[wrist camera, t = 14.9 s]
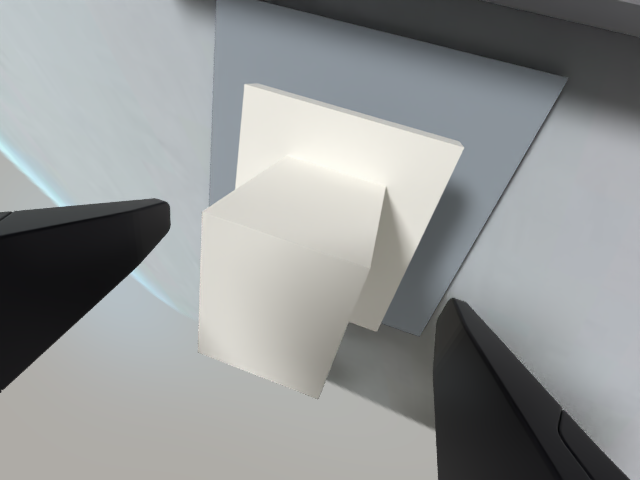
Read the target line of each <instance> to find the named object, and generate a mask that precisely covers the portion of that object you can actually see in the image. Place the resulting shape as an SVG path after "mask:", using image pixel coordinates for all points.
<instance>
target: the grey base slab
mask: <svg viewBox="0 0 640 480" xmlns="http://www.w3.org/2000/svg"><path fill="white" fill-rule="evenodd" d="M480 1H484V2H489V3H493V4H497V5H502V6H506V7H510V8H515V9H519V10H523V11H528V12H532V13H536V14H541V15H545V16H549V17H554V18H558V19H562V20H567V21H571V22H575V23H580V24H584V25H588V26H593V27H597V28H601V29H606V30H610V31H614V32H619V33H623V34H627V35H631V36H636V37H640V0H480Z"/></svg>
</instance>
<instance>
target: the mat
mask: <svg viewBox="0 0 640 480" xmlns="http://www.w3.org/2000/svg"><path fill="white" fill-rule="evenodd" d="M567 80H568V78H567V77H563V76H559V75H555V74H551V73H547V72H543V71H539V70H535V69H531V68H527V67H523V66H519V65H515V64H511V63H507V62H503V61H499V60H495V59H491V58H487V57H483V56H479V55H475V54H471V53H467V52H463V51H459V50H455V49H451V48H447V47H443V46H439V45H435V44H431V43H427V42H423V41H419V40H415V39H411V38H407V37H403V36H399V35H395V34H391V33H387V32H383V31H379V30H375V29H371V28H367V27H363V26H359V25H355V24H351V23H347V22H343V21H339V20H335V19H331V18H327V17H323V16H319V15H315V14H311V13H307V12H303V11H299V10H295V9H291V8H287V7H283V6H279V5H275V4H271V3H267V2H263V1H259V0H216V21H215V49H214V77H213V105H212V132H211V160H210V188H209V207H210V206H211V205H213V204H214V203H216V202H217V201H219V200H220V199H222V198H223V197H225V196H226V195H228V194H229V193H231V192H232V191H234V190H235V185H236V174H237V162H238V151H239V140H240V129H241V117H242V106H243V95H244V84H255V83H258V84H262V85H265V86H269V87H272V88H276V89H279V90H283V91H286V92H290V93H293V94H297V95H300V96H303V97H307V98H310V99H314V100H317V101H321V102H324V103H328V104H331V105H335V106H338V107H342V108H345V109H349V110H352V111H356V112H359V113H363V114H366V115H370V116H373V117H376V118H380V119H383V120H387V121H390V122H394V123H397V124H401V125H404V126H408V127H411V128H415V129H418V130H422V131H425V132H429V133H432V134H436V135H439V136H443V137H446V138H449V139H453V140H456V141H459V142H460V143H461V144H462V145H463V147H464V149H463V151H462V153H461V156H460V158H459V160H458V162H457V164H456V166H455V168H454V170H453V172H452V175H451V177H450V179H449V181H448V183H447V185H446V187H445V189H444V191H443V194H442V196H441V198H440V200H439V202H438V204H437V206H436V208H435V210H434V213H433V215H432V217H431V219H430V221H429V223H428V225H427V227H426V229H425V231H424V234H423V236H422V238H421V240H420V242H419V244H418V246H417V248H416V250H415V253H414V255H413V257H412V259H411V261H410V263H409V265H408V267H407V269H406V272H405V274H404V276H403V278H402V280H401V282H400V284H399V286H398V288H397V291H396V293H395V295H394V297H393V299H392V301H391V303H390V305H389V307H388V310H387V312H386V314H385V316H384V318H383V320H382V322H381V323H382V324H385V325H388V326H390V327H393V328H396V329H399V330H402V331H405V332H407V333H410V334H413V335H416V336H419V337H420V335H421V333H422V332H423V330H424V328H425V326H426V325H427V323H428V321H429V319H430V318H431V316H432V314H433V312H434V311H435V309H436V307H437V306H438V304H439V302H440V300H441V299H442V297H443V295H444V293H445V292H446V290H447V288H448V286H449V285H450V283H451V281H452V280H453V278H454V276H455V274H456V273H457V271H458V269H459V267H460V266H461V264H462V262H463V260H464V259H465V257H466V255H467V253H468V252H469V250H470V248H471V247H472V245H473V243H474V241H475V240H476V238H477V236H478V234H479V233H480V231H481V229H482V227H483V226H484V224H485V222H486V221H487V219H488V217H489V215H490V214H491V212H492V210H493V208H494V207H495V205H496V203H497V201H498V200H499V198H500V196H501V195H502V193H503V191H504V189H505V188H506V186H507V184H508V182H509V181H510V179H511V177H512V175H513V174H514V172H515V170H516V169H517V167H518V165H519V163H520V162H521V160H522V158H523V156H524V155H525V153H526V151H527V149H528V148H529V146H530V144H531V143H532V141H533V139H534V137H535V136H536V134H537V132H538V130H539V129H540V127H541V125H542V123H543V122H544V120H545V118H546V117H547V115H548V113H549V111H550V110H551V108H552V106H553V104H554V103H555V101H556V99H557V97H558V96H559V94H560V92H561V91H562V89H563V87H564V85H565V84H566V82H567Z"/></svg>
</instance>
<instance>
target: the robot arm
mask: <svg viewBox="0 0 640 480" xmlns="http://www.w3.org/2000/svg"><path fill="white" fill-rule="evenodd" d="M170 225H171V224H170V206H169V204H168V203H167V202H165V201H162V200H159V199H155V198H153V199H142V200H131V201H121V202H110V203H99V204H88V205H77V206H66V207H55V208H44V209H33V210H22V211H14V212H0V393H1V390H3V389H5V388H6V387H7V386H8V385H9V384H10V383H11V382H12V381H13V380H15V379H16V378H17V377H18V376H19V375H20V374H21V373H22V372H23V371H24V370H25V369H26V368H28V366H30V365H31V364H32V363H33V362H34V361H35V360H36V359H37V358H38V357H39V356H41V354H43V353H44V352H45V351H46V350H47V349H48V348H49V347H51V346H52V345H53V344H54V343H55V342H56V341H57V340H58V339H59V338H60V337H61V336H62V335H64V334H65V333H66V332H67V331H68V330H69V329H70V328H71V327H72V326H73V325H74V324H75V323H77V322H78V321H79V320H80V319H81V318H82V317H83V316H84V315H85V314H86V313H88V311H90V310H91V309H92V308H93V307H94V306H95V305H96V304H97V303H98V302H99V301H101V300H102V299H103V298H104V297H105V296H106V295H107V294H108V293H109V292H110V291H111V290H113V289H114V288H115V287H116V286H117V285H118V284H119V283H120V282H121V281H122V280H123V279H125V278H126V277H127V276H128V275H129V274H130V273H131V272H132V271H133V270H134V269H135V268H136V267H137V266H138V265H139V264H140V263H141V262H142V261H143V260H144V259H145V258H146V257H147V255H148V254H149V253H150V252H151V251H152V250H153V249H154V248H155V246H156V245H157V244H158V243H159V242H160V241H161V240H162V238H163V237H164V236H165V235H166V234H167V233H168V231H169V229H170ZM433 387H434V407H435V426H436V446H437V465H438V480H630V479H629V478H628V477H627V476H626V475H625V474H624V473H623V472H622V471H621V470H620V469H619V468H618V467H617V466H616V465H615V464H614V463H613V462H612V461H611V460H610V459H609V458H608V457H607V456H606V455H605V453H604V452H603V451H602V450H601V449H600V448H599V447H598V446H597V445H596V444H595V443H594V442H593V441H592V440H591V439H590V438H589V437H588V435H587V434H586V433H585V432H584V431H583V430H582V429H581V428H580V427H579V426H578V425H577V424H576V422H575V421H574V420H573V419H572V418H571V417H570V416H569V415H568V414H567V412H566V411H564V410H562V407H561V406H560V405H559V404H558V403H557V402H556V400H555V399H554V398H553V397H552V396H551V395H550V394H549V393H548V392H547V391H546V389H545V388H544V387H543V386H542V385H541V384H540V383H539V382H538V381H537V380H536V378H535V377H534V376H533V375H532V374H531V373H530V372H529V371H528V370H527V369H526V367H525V366H524V365H523V364H522V363H521V362H520V361H519V360H518V359H517V358H516V356H515V355H514V354H513V353H512V352H511V351H510V350H509V349H508V348H507V347H506V345H505V344H504V343H503V342H502V341H501V340H500V339H499V338H498V337H497V336H496V334H495V333H494V332H493V331H492V330H491V329H490V328H489V327H488V326H487V325H486V323H485V322H484V321H483V320H482V319H481V318H480V317H479V316H478V315H477V314H476V312H475V311H474V310H473V309H472V308H471V307H470V306H469V305H468V304H467V303H466V302H464V301H461V300H458V299H455V298H451V299H450V300H449V301H448V302H447V304H446V306H445V307H444V309H443V311H442V312H441V314H440V316H439V318H438V320H437V324H436V334H435V348H434V362H433Z"/></svg>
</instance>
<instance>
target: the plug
mask: <svg viewBox="0 0 640 480" xmlns="http://www.w3.org/2000/svg"><path fill="white" fill-rule="evenodd" d="M463 149H464V147H463V145H462V144H461V143H460V142H459V141H456V140H453V139H449V138H446V137H443V136H439V135H436V134H432V133H429V132H425V131H422V130H418V129H415V128H411V127H408V126H404V125H401V124H397V123H394V122H390V121H387V120H383V119H380V118H376V117H373V116H370V115H366V114H363V113H359V112H356V111H352V110H349V109H345V108H342V107H338V106H335V105H331V104H328V103H324V102H321V101H317V100H314V99H310V98H307V97H303V96H300V95H297V94H293V93H290V92H286V91H283V90H279V89H276V88H272V87H269V86H265V85H262V84H258V83H255V84H244V95H243V106H242V117H241V129H240V140H239V151H238V162H237V174H236V185H235V190H234V191H232V192H231V193H229V194H228V195H226V196H225V197H223V198H222V199H220V200H219V201H217V202H216V203H214V204H213V205H211V206H210V207H208V208H207V209H205V210H204V211H202V230H201V264H200V298H199V332H198V353H201V354H203V355H206V356H208V357H211V358H213V359H216V360H219V361H221V362H224V363H226V364H229V365H232V366H234V367H237V368H239V369H242V370H244V371H247V372H249V373H252V374H254V375H257V376H260V377H262V378H265V379H267V380H270V381H272V382H275V383H278V384H280V385H282V386H285V387H288V388H290V389H293V390H295V391H298V392H300V393H303V394H305V395H308V396H311V397H313V398H316V399H319V397H320V394H321V392H322V389H323V387H324V384H325V381H326V379H327V376H328V374H329V371H330V369H331V366H332V364H333V361H334V359H335V356H336V354H337V351H338V349H339V346H340V343H341V341H342V338H343V336H344V333H345V331H346V328H347V326H348V323H349V322H350V323H353V324H356V325H359V326H362V327H364V328H367V329H370V330H373V331H375V332H377V331H378V328H379V326H380V324H381V322H382V320H383V318H384V316H385V314H386V312H387V310H388V307H389V305H390V303H391V301H392V299H393V297H394V295H395V293H396V291H397V288H398V286H399V284H400V282H401V280H402V278H403V276H404V274H405V272H406V269H407V267H408V265H409V263H410V261H411V259H412V257H413V255H414V253H415V250H416V248H417V246H418V244H419V242H420V240H421V238H422V236H423V234H424V231H425V229H426V227H427V225H428V223H429V221H430V219H431V217H432V215H433V213H434V210H435V208H436V206H437V204H438V202H439V200H440V198H441V196H442V194H443V191H444V189H445V187H446V185H447V183H448V181H449V179H450V177H451V175H452V172H453V170H454V168H455V166H456V164H457V162H458V160H459V158H460V156H461V153H462V151H463Z"/></svg>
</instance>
